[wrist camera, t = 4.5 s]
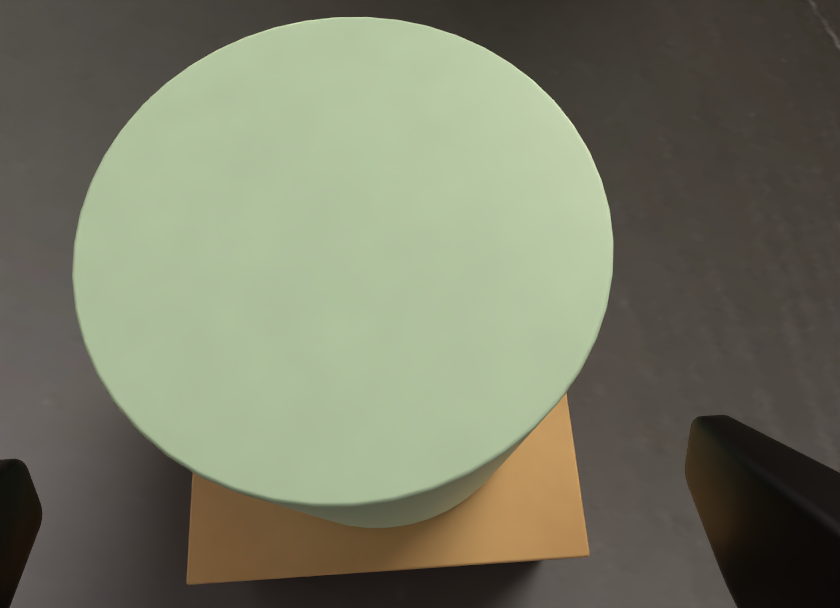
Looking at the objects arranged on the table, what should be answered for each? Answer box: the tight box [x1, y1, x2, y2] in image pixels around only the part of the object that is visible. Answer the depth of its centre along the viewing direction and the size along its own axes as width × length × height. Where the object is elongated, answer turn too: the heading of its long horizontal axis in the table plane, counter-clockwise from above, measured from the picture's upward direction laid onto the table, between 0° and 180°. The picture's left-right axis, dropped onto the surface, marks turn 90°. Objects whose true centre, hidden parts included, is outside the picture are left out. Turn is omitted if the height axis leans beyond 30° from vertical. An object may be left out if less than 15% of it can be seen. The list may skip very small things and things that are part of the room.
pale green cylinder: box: [72, 17, 613, 528], centre depth 11 cm, size 6×6×7 cm
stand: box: [187, 393, 590, 585], centre depth 17 cm, size 8×8×5 cm
